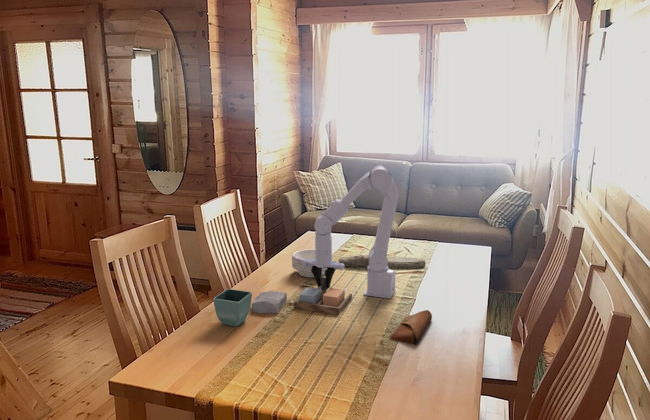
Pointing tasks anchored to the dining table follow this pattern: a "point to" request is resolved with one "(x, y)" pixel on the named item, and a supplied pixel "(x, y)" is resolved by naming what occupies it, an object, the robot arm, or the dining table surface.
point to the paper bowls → (298, 262)
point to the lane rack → (322, 306)
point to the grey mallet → (314, 292)
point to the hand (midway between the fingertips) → (323, 287)
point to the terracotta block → (334, 297)
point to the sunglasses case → (412, 327)
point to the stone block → (269, 302)
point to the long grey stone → (393, 262)
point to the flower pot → (232, 306)
